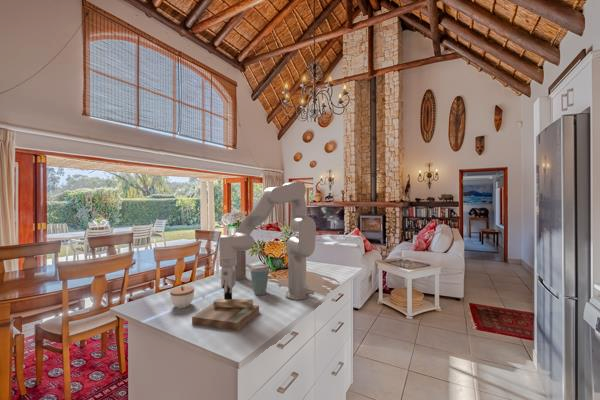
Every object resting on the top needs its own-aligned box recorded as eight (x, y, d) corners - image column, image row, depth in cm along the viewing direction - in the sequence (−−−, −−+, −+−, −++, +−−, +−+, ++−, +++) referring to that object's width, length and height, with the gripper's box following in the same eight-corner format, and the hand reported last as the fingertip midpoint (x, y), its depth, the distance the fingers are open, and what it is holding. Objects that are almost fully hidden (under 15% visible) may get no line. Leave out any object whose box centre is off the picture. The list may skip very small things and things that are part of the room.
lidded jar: (199, 302, 136) (198, 284, 136) (183, 311, 126) (183, 291, 126) (181, 300, 139) (181, 282, 139) (165, 308, 129) (164, 288, 129)
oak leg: (253, 305, 124) (252, 298, 124) (251, 308, 121) (251, 301, 121) (215, 305, 124) (215, 298, 124) (213, 307, 121) (213, 301, 121)
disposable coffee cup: (246, 295, 146) (246, 267, 145) (255, 288, 156) (255, 262, 156) (265, 297, 143) (265, 268, 143) (272, 290, 153) (272, 263, 153)
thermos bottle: (248, 277, 177) (247, 234, 177) (239, 280, 171) (239, 236, 170) (239, 275, 182) (239, 233, 181) (230, 278, 175) (230, 235, 175)
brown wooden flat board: (259, 312, 124) (259, 305, 124) (239, 330, 107) (239, 322, 107) (216, 306, 131) (216, 300, 131) (192, 323, 113) (191, 316, 113)
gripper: (233, 265, 119) (233, 308, 119) (238, 258, 133) (239, 295, 134) (215, 266, 118) (215, 308, 118) (223, 258, 133) (223, 296, 133)
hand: (228, 301), depth 126 cm, fingers closed
